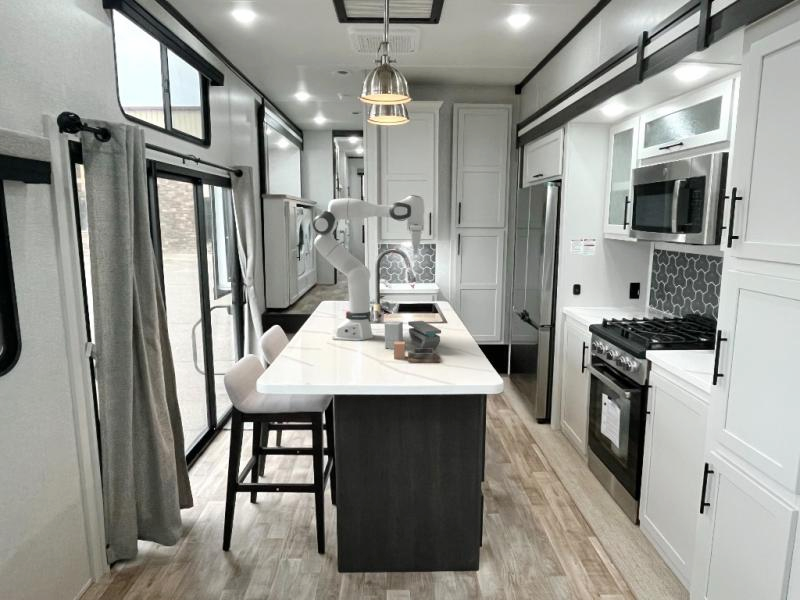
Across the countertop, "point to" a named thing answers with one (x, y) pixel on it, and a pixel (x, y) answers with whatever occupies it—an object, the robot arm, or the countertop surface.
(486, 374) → the countertop surface
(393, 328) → the supplement box
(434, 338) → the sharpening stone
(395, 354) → the block
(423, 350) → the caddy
